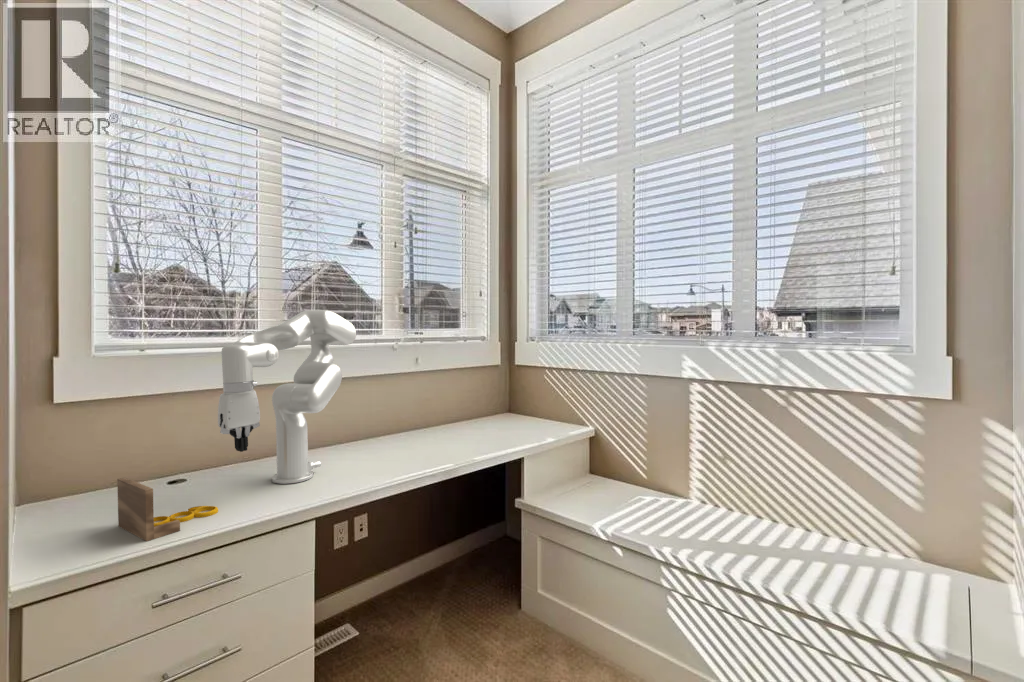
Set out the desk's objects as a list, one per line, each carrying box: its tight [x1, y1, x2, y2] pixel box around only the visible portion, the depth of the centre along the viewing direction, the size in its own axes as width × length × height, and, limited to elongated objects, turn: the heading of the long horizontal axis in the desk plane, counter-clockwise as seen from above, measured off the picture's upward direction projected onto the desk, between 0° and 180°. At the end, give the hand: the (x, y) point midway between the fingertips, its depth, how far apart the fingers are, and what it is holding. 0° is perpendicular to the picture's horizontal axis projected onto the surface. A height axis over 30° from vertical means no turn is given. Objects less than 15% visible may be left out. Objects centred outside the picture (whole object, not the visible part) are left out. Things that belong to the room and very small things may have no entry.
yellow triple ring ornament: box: [154, 505, 219, 527], centre depth 127 cm, size 17×2×10 cm
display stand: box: [116, 477, 181, 542], centre depth 120 cm, size 7×16×12 cm, turn 57°
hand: (241, 450), depth 140 cm, fingers closed
